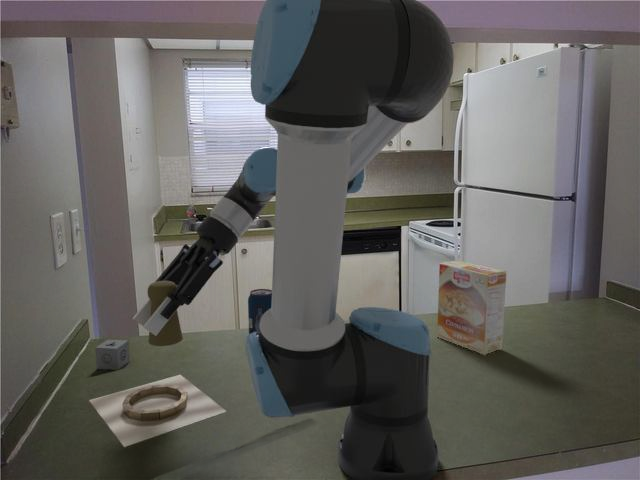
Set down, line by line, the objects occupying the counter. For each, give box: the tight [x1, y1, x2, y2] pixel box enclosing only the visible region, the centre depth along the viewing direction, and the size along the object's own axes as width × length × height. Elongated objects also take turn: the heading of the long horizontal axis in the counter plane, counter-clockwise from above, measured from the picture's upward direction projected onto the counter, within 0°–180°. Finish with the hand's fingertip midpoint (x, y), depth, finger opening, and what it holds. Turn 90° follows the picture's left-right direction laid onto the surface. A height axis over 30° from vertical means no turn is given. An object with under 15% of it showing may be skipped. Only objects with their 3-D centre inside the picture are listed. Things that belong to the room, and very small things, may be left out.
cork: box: [147, 281, 183, 347], centre depth 94 cm, size 6×6×11 cm
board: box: [88, 374, 228, 448], centre depth 94 cm, size 20×18×1 cm
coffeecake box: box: [436, 259, 507, 355], centre depth 126 cm, size 15×7×20 cm, turn 33°
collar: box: [122, 384, 188, 421], centre depth 94 cm, size 11×11×2 cm
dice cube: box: [95, 339, 131, 371], centre depth 115 cm, size 5×5×5 cm
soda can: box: [247, 288, 272, 335], centre depth 132 cm, size 7×7×12 cm
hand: (144, 326), depth 92 cm, fingers closed on cork, 5 cm apart
